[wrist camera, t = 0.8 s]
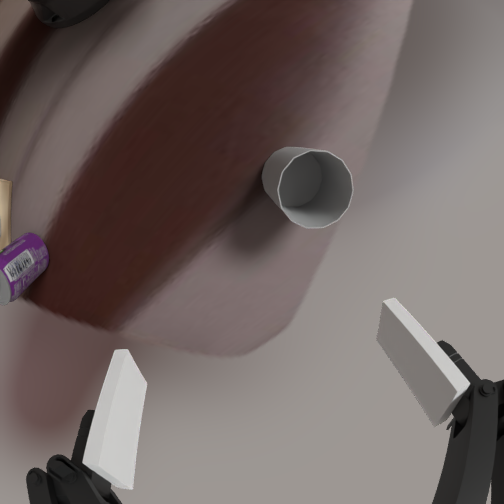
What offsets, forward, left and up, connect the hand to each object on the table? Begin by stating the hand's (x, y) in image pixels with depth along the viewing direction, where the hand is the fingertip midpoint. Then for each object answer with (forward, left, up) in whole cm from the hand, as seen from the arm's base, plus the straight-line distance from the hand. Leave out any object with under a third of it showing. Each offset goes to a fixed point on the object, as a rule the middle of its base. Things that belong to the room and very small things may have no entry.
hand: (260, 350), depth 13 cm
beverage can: (-11, -32, -27) cm, 43 cm away
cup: (0, +9, -27) cm, 29 cm away
